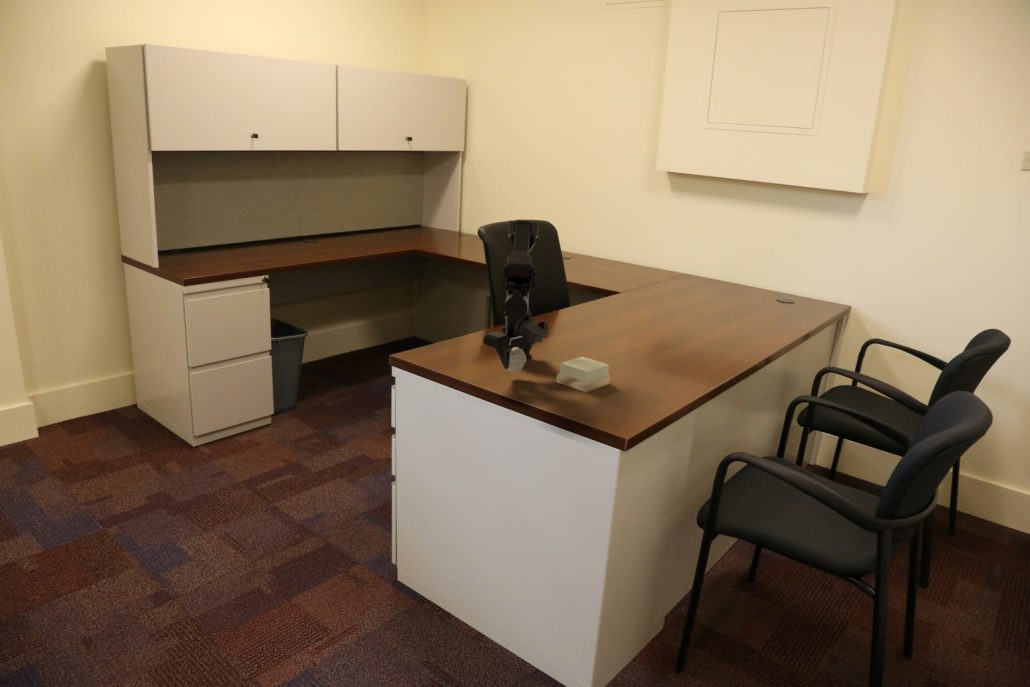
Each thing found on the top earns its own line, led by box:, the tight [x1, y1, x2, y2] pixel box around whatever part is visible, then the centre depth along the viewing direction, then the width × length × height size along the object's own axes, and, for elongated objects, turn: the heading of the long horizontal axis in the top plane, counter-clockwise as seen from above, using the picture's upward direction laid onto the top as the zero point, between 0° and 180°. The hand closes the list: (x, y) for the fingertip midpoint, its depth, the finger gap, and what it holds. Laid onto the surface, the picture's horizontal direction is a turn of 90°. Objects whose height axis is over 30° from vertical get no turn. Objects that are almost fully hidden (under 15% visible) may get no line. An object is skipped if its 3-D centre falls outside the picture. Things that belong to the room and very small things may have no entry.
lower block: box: [556, 372, 611, 393], centre depth 191 cm, size 10×10×3 cm
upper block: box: [559, 356, 610, 383], centre depth 190 cm, size 9×9×3 cm
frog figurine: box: [507, 347, 527, 373], centre depth 190 cm, size 6×7×7 cm
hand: (514, 366), depth 191 cm, fingers closed on frog figurine, 6 cm apart
